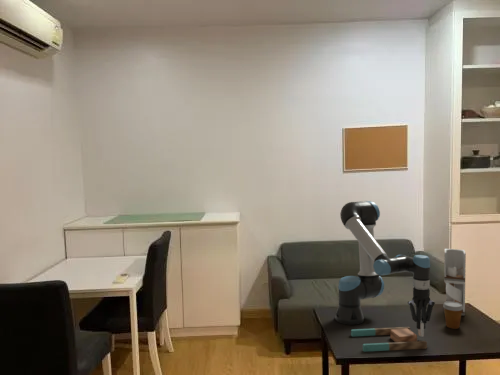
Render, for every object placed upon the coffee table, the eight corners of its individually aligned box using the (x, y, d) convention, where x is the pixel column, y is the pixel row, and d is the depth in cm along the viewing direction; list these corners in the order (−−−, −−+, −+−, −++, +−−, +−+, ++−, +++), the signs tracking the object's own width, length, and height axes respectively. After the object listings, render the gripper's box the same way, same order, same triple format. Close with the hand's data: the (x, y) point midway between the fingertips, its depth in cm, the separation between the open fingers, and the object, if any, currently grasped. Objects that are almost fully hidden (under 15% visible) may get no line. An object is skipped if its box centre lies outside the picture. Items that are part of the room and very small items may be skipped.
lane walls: (389, 350, 204) (389, 344, 204) (374, 334, 223) (374, 328, 222) (426, 348, 205) (426, 342, 205) (408, 332, 224) (409, 326, 224)
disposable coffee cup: (461, 331, 225) (461, 308, 224) (441, 327, 230) (441, 305, 229) (463, 325, 233) (464, 302, 232) (444, 322, 238) (444, 300, 237)
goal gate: (363, 351, 203) (363, 345, 203) (351, 335, 222) (351, 329, 222) (389, 350, 204) (389, 344, 204) (374, 334, 223) (374, 328, 222)
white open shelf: (443, 307, 261) (444, 248, 259) (463, 309, 257) (464, 249, 255) (444, 313, 251) (444, 252, 249) (464, 315, 247) (465, 253, 244)
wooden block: (399, 346, 209) (399, 336, 209) (390, 338, 218) (390, 329, 218) (417, 344, 210) (417, 335, 210) (407, 337, 219) (407, 328, 219)
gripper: (411, 290, 209) (411, 339, 210) (438, 289, 210) (437, 337, 212) (404, 285, 216) (404, 332, 218) (430, 284, 217) (429, 331, 219)
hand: (420, 335), depth 215 cm, fingers closed
